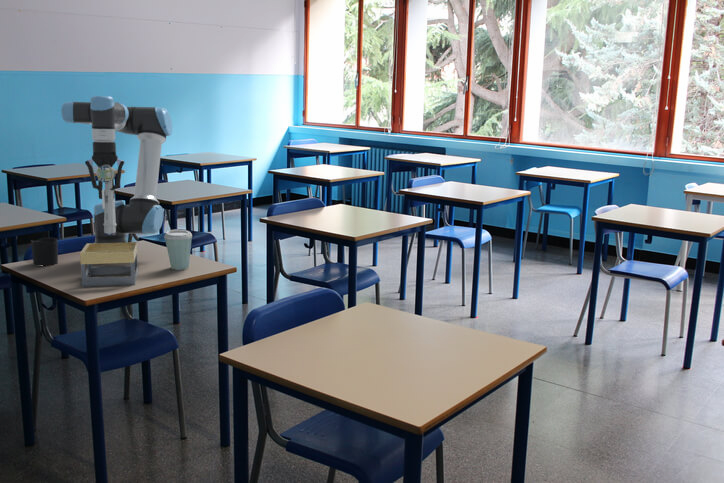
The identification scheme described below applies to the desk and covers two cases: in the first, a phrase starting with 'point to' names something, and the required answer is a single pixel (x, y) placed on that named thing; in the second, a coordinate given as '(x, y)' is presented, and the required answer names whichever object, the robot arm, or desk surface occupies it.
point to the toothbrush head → (108, 198)
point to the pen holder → (45, 251)
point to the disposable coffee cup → (178, 248)
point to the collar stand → (109, 254)
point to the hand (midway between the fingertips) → (107, 208)
